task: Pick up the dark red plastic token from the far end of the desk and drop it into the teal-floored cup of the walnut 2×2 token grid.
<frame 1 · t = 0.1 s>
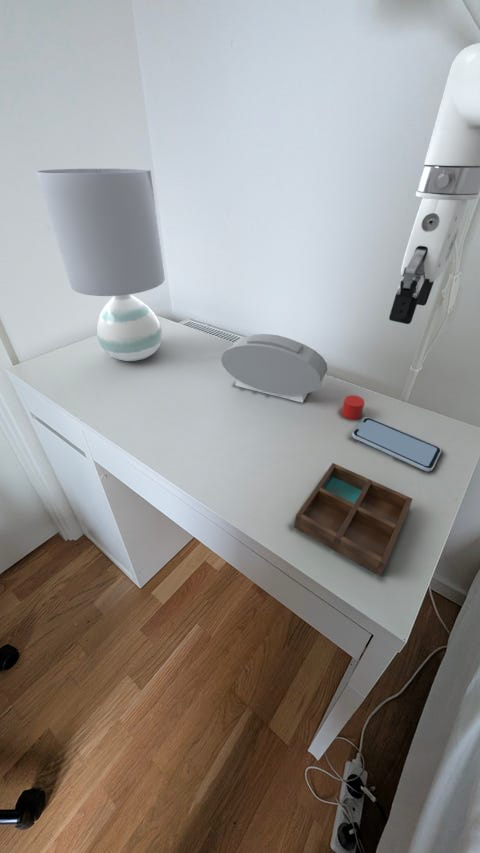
hand: (407, 312, 55), 23 cm above the table, tool pointing down, fingers open, 9 cm apart
alarm clock: (271, 389, 80), on the table
smartphone: (394, 445, 65), on the table
lamp: (134, 354, 93), on the table
grid: (351, 519, 52), on the table
token: (351, 414, 72), on the table
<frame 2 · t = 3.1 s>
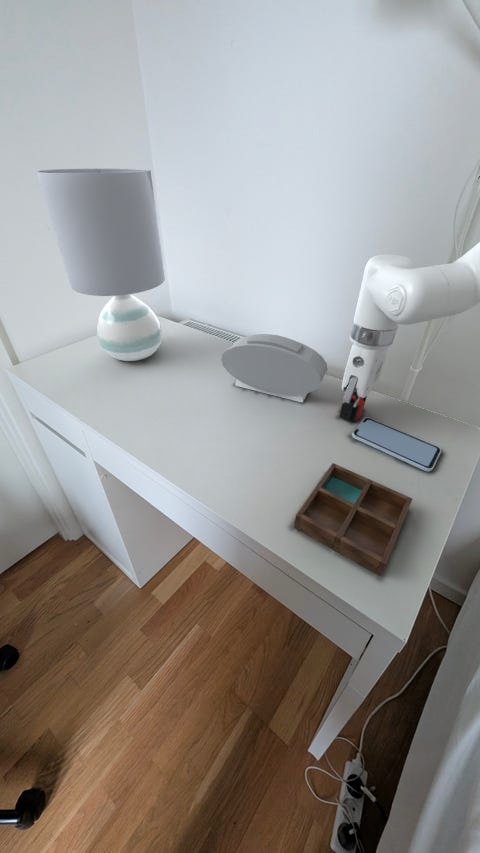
hand: (351, 412, 72), 0 cm above the table, tool pointing down, fingers closed on token, 4 cm apart
token: (351, 414, 72), on the table, touching gripper
everything else where it was.
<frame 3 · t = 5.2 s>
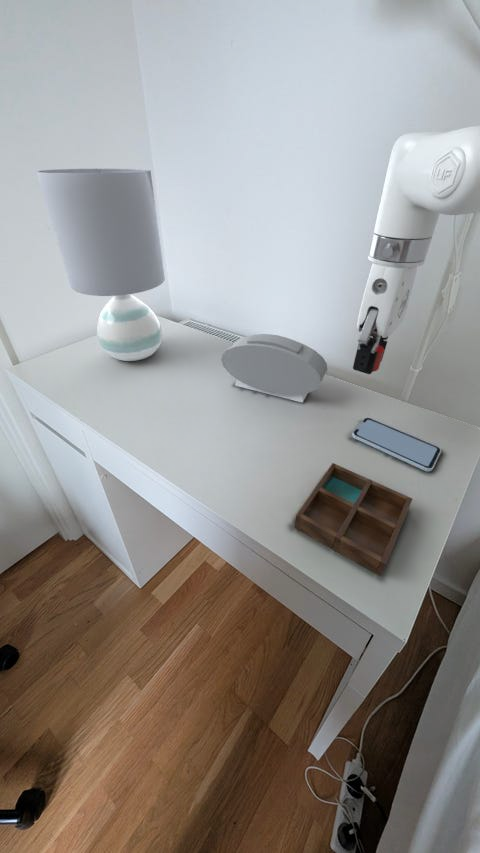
hand: (367, 364, 58), 15 cm above the table, tool pointing down, fingers closed on token, 4 cm apart
token: (366, 366, 59), point 15 cm above the table, touching gripper
everything else where it was.
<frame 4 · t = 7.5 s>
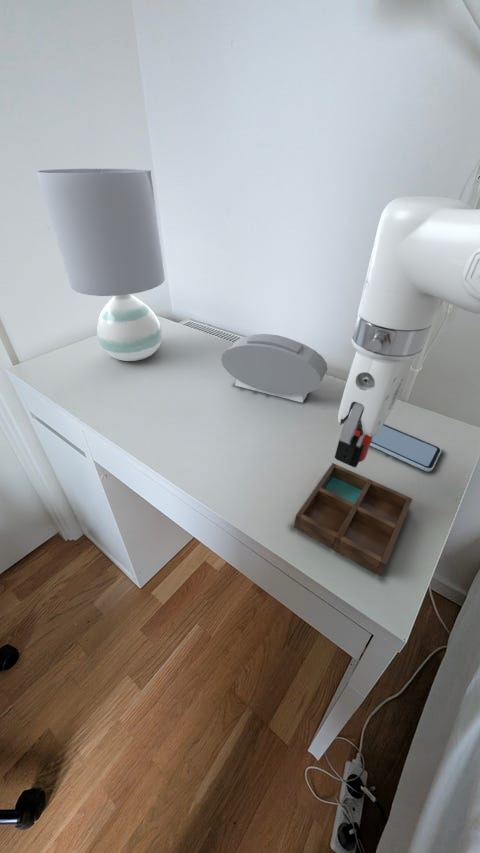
hand: (352, 451, 49), 10 cm above the table, tool pointing down, fingers closed on token, 4 cm apart
token: (351, 452, 49), point 10 cm above the table, touching gripper
everything else where it was.
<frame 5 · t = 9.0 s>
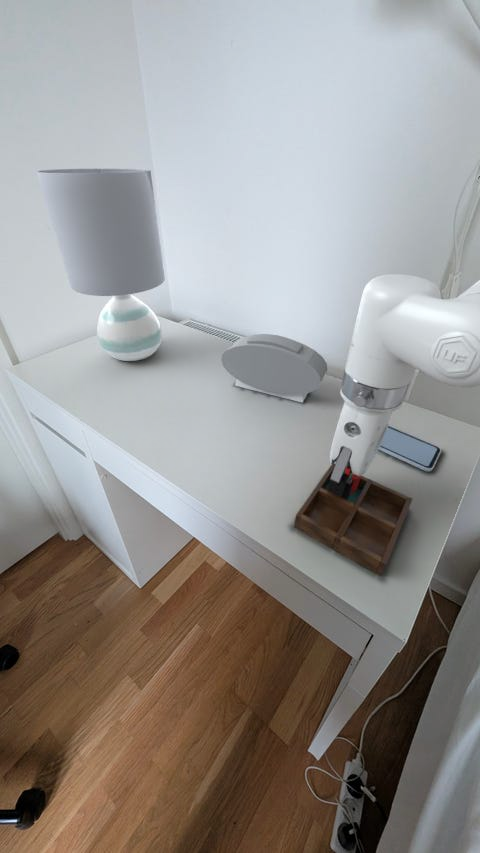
hand: (344, 483, 53), 3 cm above the table, tool pointing down, fingers closed on token, 4 cm apart
token: (343, 484, 53), point 3 cm above the table, touching gripper
everything else where it was.
when the fingers open (4 cm above the table, at t = 11.8 s): token drops 3 cm, resting on grid.
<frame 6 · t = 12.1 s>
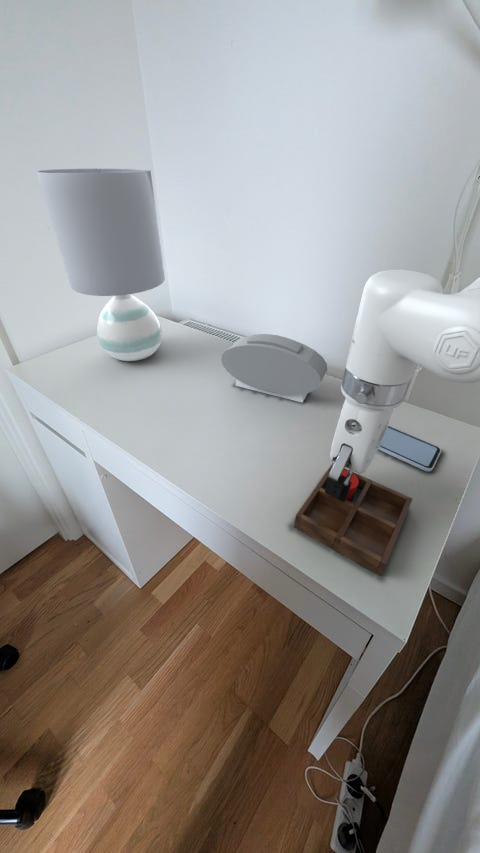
hand: (345, 479, 52), 4 cm above the table, tool pointing down, fingers open, 7 cm apart
token: (341, 493, 54), point 1 cm above the table, touching grid
everything else where it was.
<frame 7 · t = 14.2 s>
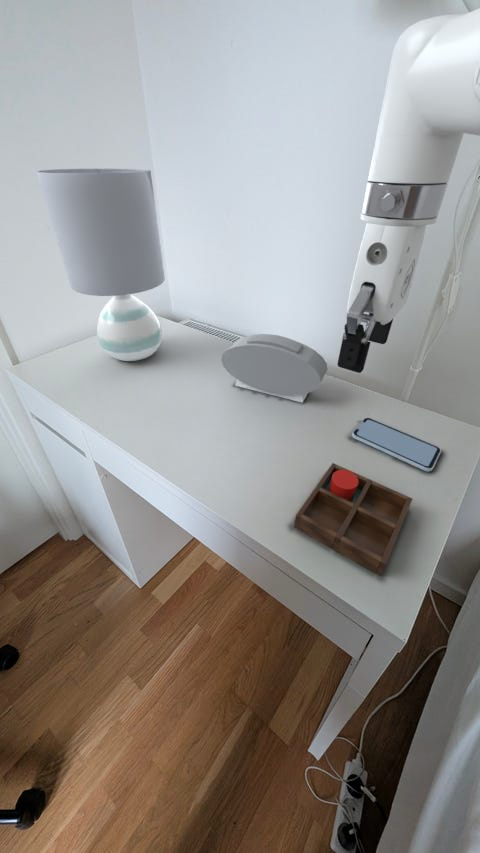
hand: (362, 354, 46), 22 cm above the table, tool pointing down, fingers open, 9 cm apart
nothing on the table moved.
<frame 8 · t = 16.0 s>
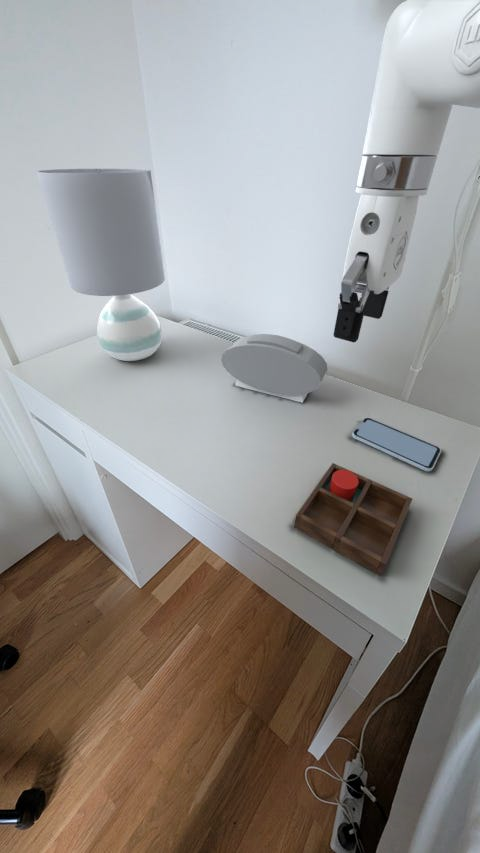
hand: (358, 327, 48), 24 cm above the table, tool pointing down, fingers open, 9 cm apart
nothing on the table moved.
at the end: token 0.1 cm from the target spot in the grid, point 0.8 cm above the grid's base; token tilted 0° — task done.
